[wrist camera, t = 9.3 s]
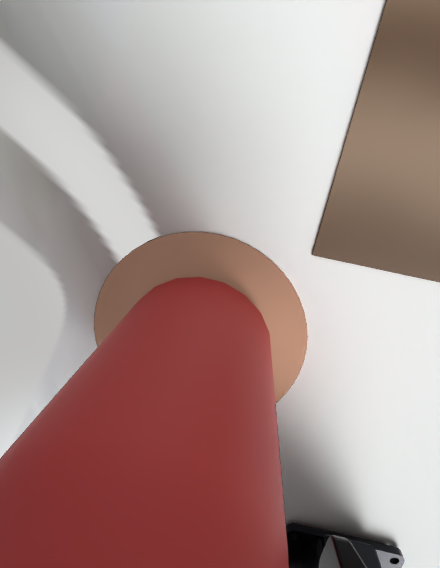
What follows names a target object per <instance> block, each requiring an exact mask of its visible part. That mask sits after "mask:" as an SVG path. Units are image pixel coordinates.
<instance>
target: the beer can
mask: <svg viewBox="0 0 440 568" xmlns="http://www.w3.org/2000/svg"><path fill="white" fill-rule="evenodd" d="M0 568H289V562H288V546H287V534H286V522H285V511H284V499H283V487H282V475H281V463H280V451H279V439H278V428H277V416H276V404H275V392H274V380H273V368H272V356H271V345H270V333H269V331H268V328H267V326H266V324H265V321H264V319H263V317H262V314H261V312H260V311H259V310H258V309H257V308H256V307H255V306H254V304H253V303H252V302H251V301H250V300H249V299H248V298H247V296H246V295H244V294H243V293H241V292H239V291H238V290H236V289H234V288H233V287H231V286H229V285H227V284H226V283H224V282H220V281H216V280H212V279H208V278H204V277H187V278H175V279H173V280H170V281H168V282H165V283H163V284H160V285H158V286H155V287H154V288H153V289H152V290H150V291H149V292H148V293H147V294H146V295H145V296H143V297H142V298H141V299H140V300H139V301H138V302H137V303H136V304H135V305H134V306H133V308H132V309H131V310H130V311H129V312H128V313H127V314H126V316H125V317H124V318H123V319H122V320H121V321H120V322H119V324H118V325H117V326H116V327H115V328H114V329H113V330H112V332H111V333H110V334H109V335H108V336H107V337H106V338H105V340H104V341H103V342H102V343H101V344H100V345H99V346H98V348H97V349H96V350H95V351H94V352H93V353H92V354H91V356H90V357H89V358H88V359H87V360H86V361H85V362H84V364H83V365H82V366H81V367H80V368H79V369H78V370H77V372H76V373H75V374H74V375H73V376H72V377H71V378H70V380H69V381H68V382H67V383H66V384H65V385H64V386H63V388H62V389H61V390H60V391H59V392H58V393H57V394H56V396H55V397H54V398H53V399H52V400H51V401H50V402H49V403H48V405H47V406H46V407H45V408H44V409H43V410H42V411H41V413H40V414H39V415H38V416H37V417H36V418H35V419H34V421H33V422H32V423H31V424H30V425H29V426H28V427H27V429H26V430H25V431H24V432H23V433H22V434H21V435H20V437H19V438H18V439H17V440H16V441H15V442H14V443H13V445H12V446H11V447H10V448H9V449H8V450H7V451H6V453H5V454H4V455H3V456H2V457H1V458H0Z"/></svg>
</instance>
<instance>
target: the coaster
mask: <svg viewBox="0 0 440 568" xmlns="http://www.w3.org/2000/svg"><path fill="white" fill-rule="evenodd" d="M187 277H204V278H208V279H212V280H216V281H220V282H224V283H226V284H227V285H229V286H231V287H233V288H234V289H236V290H238V291H239V292H241V293H243V294H244V295H246V296H247V298H248V299H249V300H250V301H251V302H252V303H253V304H254V306H255V307H256V308H257V309H258V310H259V311H260V312H261V314H262V317H263V319H264V321H265V324H266V326H267V328H268V331H269V333H270V345H271V356H272V368H273V380H274V392H275V403H277V402H278V401H279V400H280V399H281V398H282V397H283V396H284V395H285V394H286V392H287V391H288V390H289V389H290V387H291V386H292V385H293V383H294V381H295V380H296V378H297V376H298V375H299V372H300V370H301V367H302V365H303V362H304V358H305V354H306V348H307V323H306V319H305V314H304V310H303V307H302V304H301V302H300V299H299V297H298V295H297V293H296V291H295V289H294V287H293V286H292V284H291V283H290V281H289V280H288V278H287V277H286V276H285V274H284V273H283V272H282V271H281V270H280V269H279V268H278V267H277V266H276V265H275V264H274V263H273V262H272V261H271V260H270V259H268V258H267V257H266V256H265V255H263V254H262V253H261V252H259V251H257V250H256V249H254V248H252V247H251V246H249V245H247V244H245V243H242V242H240V241H238V240H235V239H233V238H229V237H226V236H222V235H218V234H212V233H205V232H184V233H176V234H170V235H167V236H163V237H159V238H158V237H157V238H154V239H152V240H149V241H148V242H146V243H144V244H143V245H141V246H139V247H138V248H136V249H134V250H133V251H132V252H131V253H129V254H128V255H127V256H125V257H124V258H123V259H122V260H121V261H120V262H119V263H118V264H117V265H116V266H115V267H114V268H113V270H112V271H111V273H110V274H109V276H108V277H107V279H106V280H105V282H104V284H103V286H102V288H101V290H100V293H99V296H98V300H97V303H96V309H95V315H94V330H95V337H96V343H97V346H99V345H100V344H101V343H102V342H103V341H104V340H105V338H106V337H107V336H108V335H109V334H110V333H111V332H112V330H113V329H114V328H115V327H116V326H117V325H118V324H119V322H120V321H121V320H122V319H123V318H124V317H125V316H126V314H127V313H128V312H129V311H130V310H131V309H132V308H133V306H134V305H135V304H136V303H137V302H138V301H139V300H140V299H141V298H142V297H143V296H145V295H146V294H147V293H148V292H149V291H150V290H152V289H153V288H154V287H155V286H158V285H160V284H163V283H165V282H168V281H170V280H173V279H175V278H187Z"/></svg>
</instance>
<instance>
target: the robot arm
mask: <svg viewBox="0 0 440 568" xmlns="http://www.w3.org/2000/svg"><path fill="white" fill-rule="evenodd" d="M286 534H287V546H288V562H289V568H401V567H402V565H403V564H404V558H403V556H402V553H401V550H400V549H398V548H396V547H393V546H389V545H384V544H380V543H376V542H372V541H367V540H363V539H359V538H355V537H351V536H346V535H342V534H338V533H334V532H330V531H325V530H321V529H317V528H313V527H308V526H304V525H300V524H296V523H291V524H288V525H286Z"/></svg>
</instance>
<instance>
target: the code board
mask: <svg viewBox="0 0 440 568" xmlns="http://www.w3.org/2000/svg"><path fill="white" fill-rule="evenodd" d="M312 255H314V256H319V257H324V258H328V259H333V260H338V261H342V262H347V263H352V264H356V265H361V266H366V267H370V268H375V269H380V270H384V271H389V272H394V273H399V274H403V275H408V276H413V277H417V278H422V279H427V280H431V281H436V282H440V0H387V1H386V4H385V8H384V11H383V14H382V18H381V21H380V25H379V28H378V31H377V35H376V38H375V42H374V45H373V48H372V52H371V55H370V59H369V62H368V65H367V69H366V72H365V76H364V79H363V82H362V86H361V89H360V93H359V96H358V100H357V103H356V106H355V110H354V113H353V117H352V120H351V123H350V127H349V130H348V134H347V137H346V140H345V144H344V147H343V151H342V154H341V157H340V161H339V164H338V168H337V171H336V174H335V178H334V181H333V185H332V188H331V191H330V195H329V198H328V202H327V205H326V208H325V212H324V215H323V219H322V222H321V226H320V229H319V232H318V236H317V239H316V243H315V246H314V249H313V253H312Z"/></svg>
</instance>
